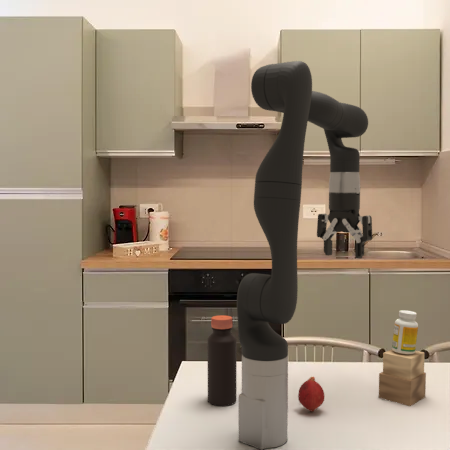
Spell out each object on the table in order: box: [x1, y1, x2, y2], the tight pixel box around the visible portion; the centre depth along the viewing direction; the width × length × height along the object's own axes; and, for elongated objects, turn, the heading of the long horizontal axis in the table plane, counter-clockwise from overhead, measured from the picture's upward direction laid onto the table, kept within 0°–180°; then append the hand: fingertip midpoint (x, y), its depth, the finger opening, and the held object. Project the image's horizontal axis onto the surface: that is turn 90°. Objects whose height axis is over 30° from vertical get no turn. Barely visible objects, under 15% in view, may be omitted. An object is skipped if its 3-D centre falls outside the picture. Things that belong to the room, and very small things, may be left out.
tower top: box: [382, 348, 425, 380], centre depth 140 cm, size 7×7×5 cm
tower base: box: [378, 371, 427, 407], centre depth 140 cm, size 8×8×6 cm
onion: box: [297, 376, 325, 413], centre depth 131 cm, size 6×6×8 cm
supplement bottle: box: [391, 309, 419, 354], centre depth 139 cm, size 5×5×10 cm
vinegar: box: [207, 315, 237, 407], centre depth 137 cm, size 7×7×20 cm
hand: (343, 256), depth 145 cm, fingers open, 8 cm apart
